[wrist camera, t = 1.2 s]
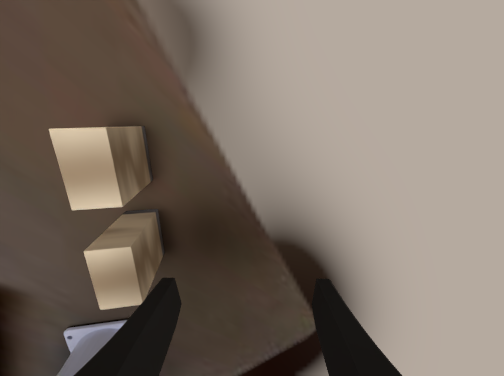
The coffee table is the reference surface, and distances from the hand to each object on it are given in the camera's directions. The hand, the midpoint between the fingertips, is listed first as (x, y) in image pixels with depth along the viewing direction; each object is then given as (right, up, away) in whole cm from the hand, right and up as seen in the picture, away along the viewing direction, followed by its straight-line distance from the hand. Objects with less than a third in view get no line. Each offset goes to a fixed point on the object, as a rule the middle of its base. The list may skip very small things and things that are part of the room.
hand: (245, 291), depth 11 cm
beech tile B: (-11, +8, +9) cm, 16 cm away
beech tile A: (-11, +1, +11) cm, 15 cm away
